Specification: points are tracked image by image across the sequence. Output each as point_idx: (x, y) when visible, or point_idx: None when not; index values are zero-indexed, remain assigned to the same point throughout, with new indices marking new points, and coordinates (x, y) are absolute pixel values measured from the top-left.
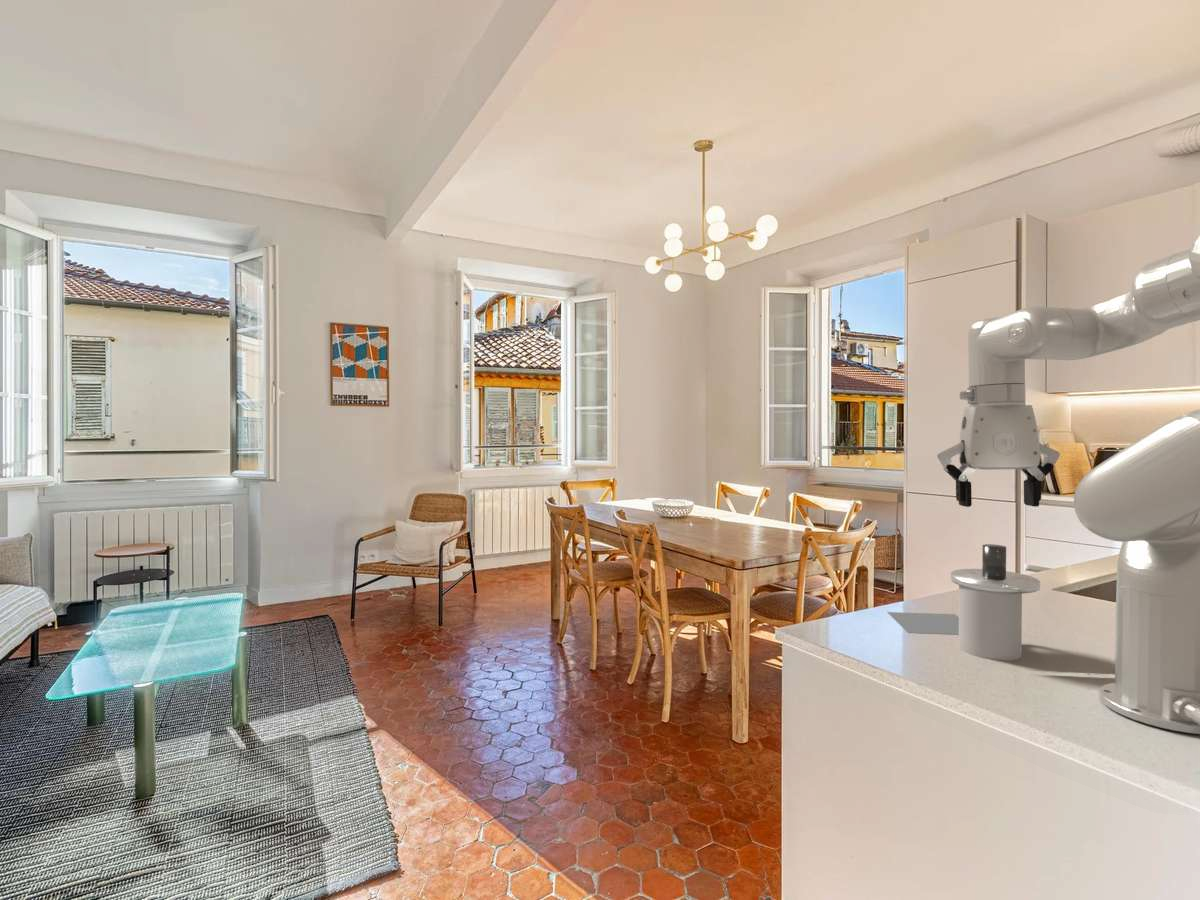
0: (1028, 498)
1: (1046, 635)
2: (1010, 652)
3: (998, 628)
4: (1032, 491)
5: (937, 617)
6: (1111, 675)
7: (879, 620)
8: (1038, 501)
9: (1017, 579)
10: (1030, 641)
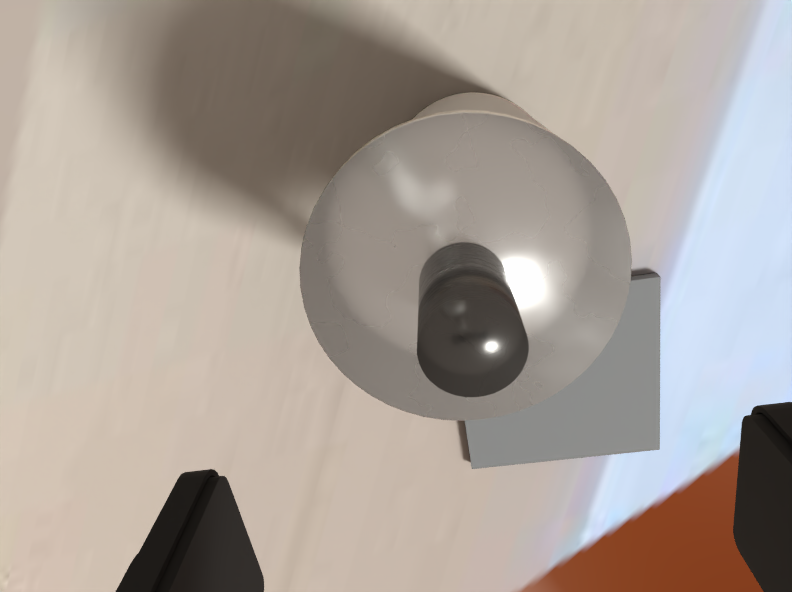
0: (231, 576)
1: (276, 370)
2: (436, 104)
3: (478, 102)
4: (184, 588)
5: (528, 431)
6: (198, 83)
7: (695, 394)
8: (174, 495)
9: (379, 265)
10: None
